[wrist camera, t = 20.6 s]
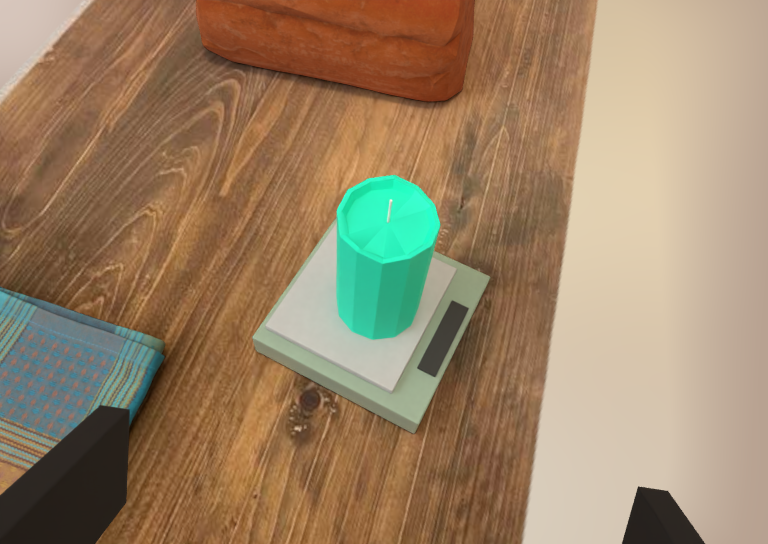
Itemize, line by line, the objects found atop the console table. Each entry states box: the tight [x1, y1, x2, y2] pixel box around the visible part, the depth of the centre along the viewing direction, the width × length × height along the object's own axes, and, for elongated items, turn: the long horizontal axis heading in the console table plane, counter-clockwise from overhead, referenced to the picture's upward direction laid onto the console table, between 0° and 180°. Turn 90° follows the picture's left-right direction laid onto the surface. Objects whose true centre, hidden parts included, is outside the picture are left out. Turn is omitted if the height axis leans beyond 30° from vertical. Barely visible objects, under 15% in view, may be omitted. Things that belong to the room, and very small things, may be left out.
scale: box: [252, 217, 490, 434], centre depth 44 cm, size 13×13×3 cm
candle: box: [336, 175, 440, 340], centre depth 38 cm, size 6×6×12 cm
